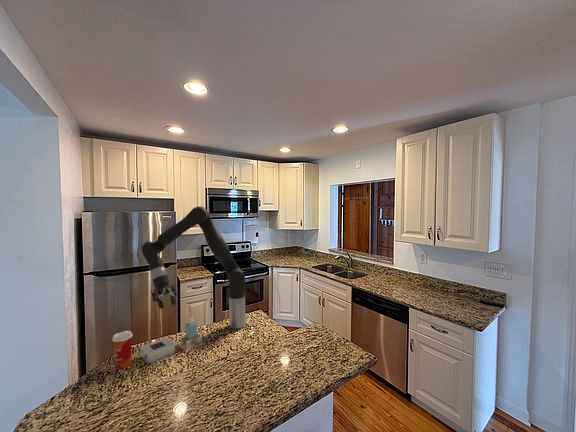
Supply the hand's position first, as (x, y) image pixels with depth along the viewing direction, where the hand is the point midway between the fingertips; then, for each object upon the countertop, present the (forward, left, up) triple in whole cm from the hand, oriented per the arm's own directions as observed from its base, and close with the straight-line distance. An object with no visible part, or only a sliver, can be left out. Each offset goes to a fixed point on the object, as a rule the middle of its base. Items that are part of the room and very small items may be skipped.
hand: (168, 306), depth 134 cm
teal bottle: (+2, +14, -17) cm, 23 cm away
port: (+14, +4, -18) cm, 23 cm away
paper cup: (+23, -5, -18) cm, 30 cm away
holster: (+2, +14, -18) cm, 23 cm away
